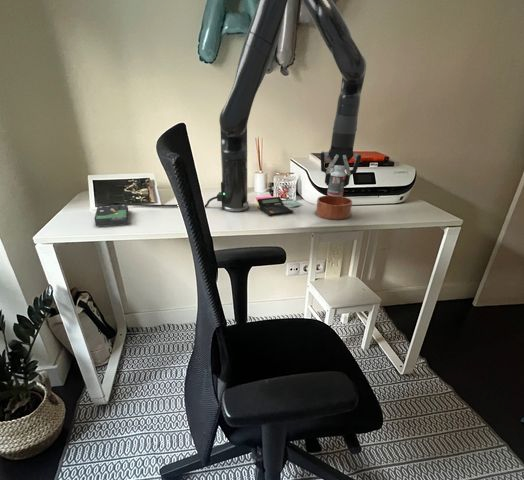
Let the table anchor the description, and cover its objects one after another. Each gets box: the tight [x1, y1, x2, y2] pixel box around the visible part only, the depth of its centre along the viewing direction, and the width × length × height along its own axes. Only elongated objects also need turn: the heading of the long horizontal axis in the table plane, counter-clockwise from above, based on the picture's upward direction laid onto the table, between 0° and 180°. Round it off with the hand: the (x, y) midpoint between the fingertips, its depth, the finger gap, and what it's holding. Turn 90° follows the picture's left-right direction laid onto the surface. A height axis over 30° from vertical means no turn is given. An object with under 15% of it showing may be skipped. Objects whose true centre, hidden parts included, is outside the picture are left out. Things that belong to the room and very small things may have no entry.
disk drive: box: [94, 204, 130, 227], centre depth 126 cm, size 10×3×15 cm
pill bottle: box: [326, 165, 347, 197], centre depth 129 cm, size 6×6×10 cm
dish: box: [315, 195, 353, 221], centre depth 135 cm, size 13×13×5 cm
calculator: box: [257, 196, 294, 217], centre depth 138 cm, size 9×12×3 cm
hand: (336, 185), depth 130 cm, fingers closed on pill bottle, 5 cm apart
